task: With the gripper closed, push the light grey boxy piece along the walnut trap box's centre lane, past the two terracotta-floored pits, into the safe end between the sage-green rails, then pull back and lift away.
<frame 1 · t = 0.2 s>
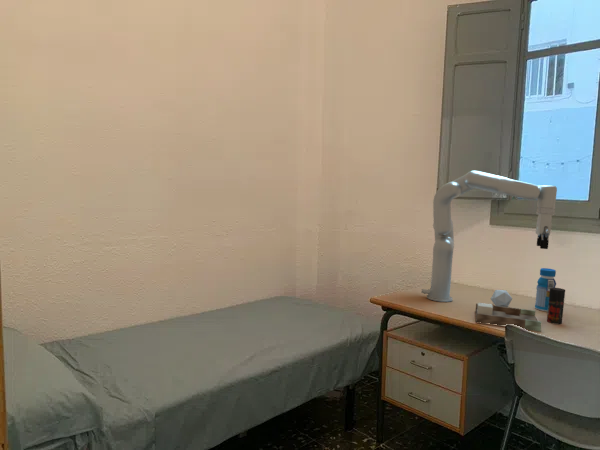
hand: (542, 247, 225), 31 cm above the table, fingers open, 9 cm apart
die: (500, 307, 234), on the table
beverage bottle: (543, 309, 232), on the table
deodorant: (554, 322, 211), on the table
trap box: (505, 321, 209), on the table
light grey boxy piece: (484, 313, 212), point 2 cm above the table, touching trap box
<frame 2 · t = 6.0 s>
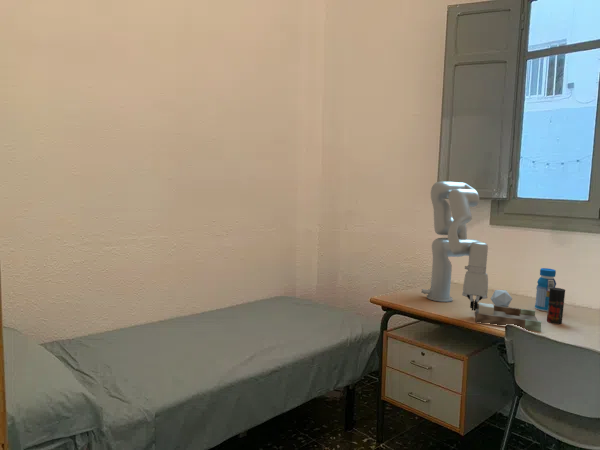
hand: (473, 309, 213), 3 cm above the table, fingers closed
light grey boxy piece: (485, 313, 212), point 2 cm above the table, touching gripper
everything else where it was.
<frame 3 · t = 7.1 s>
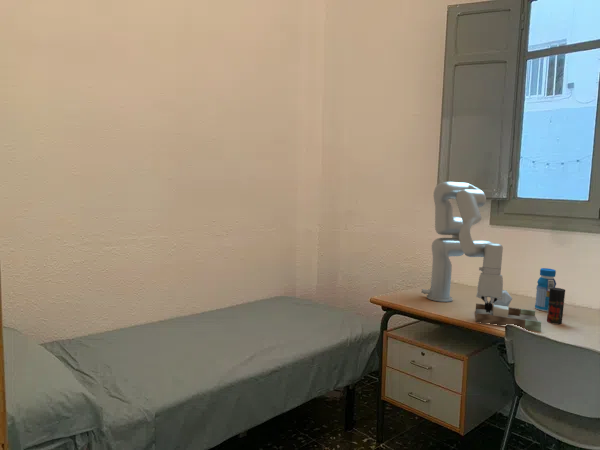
hand: (487, 311, 211), 3 cm above the table, fingers closed
light grey boxy piece: (500, 315, 210), point 2 cm above the table, touching gripper, trap box
everything else where it was.
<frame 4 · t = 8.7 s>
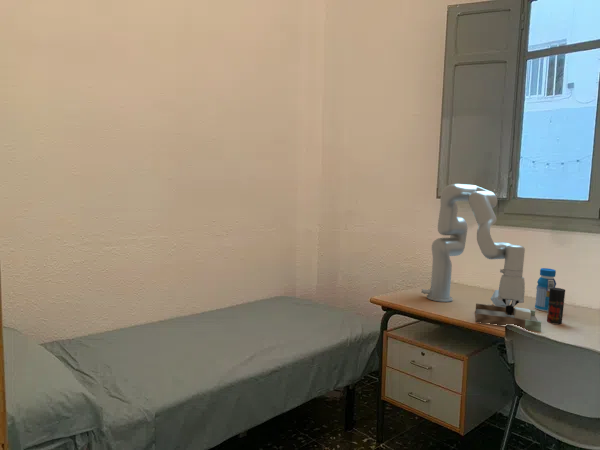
hand: (509, 314, 208), 3 cm above the table, fingers closed
light grey boxy piece: (521, 318, 207), point 2 cm above the table, touching trap box
everything else where it was.
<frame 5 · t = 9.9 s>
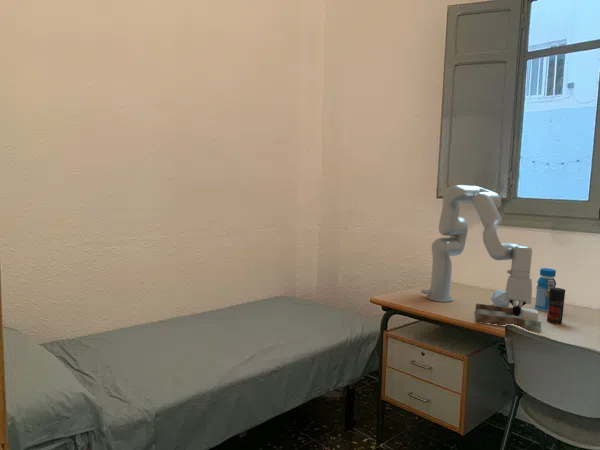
hand: (516, 315, 208), 3 cm above the table, fingers closed
light grey boxy piece: (528, 319, 206), point 2 cm above the table, touching gripper, trap box
everything else where it was.
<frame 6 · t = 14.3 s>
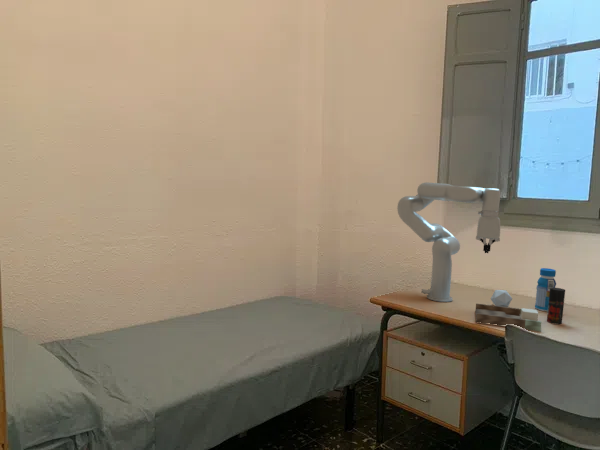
hand: (486, 252, 226), 27 cm above the table, fingers closed
light grey boxy piece: (528, 319, 206), point 2 cm above the table, touching trap box
everything else where it was.
at the end: light grey boxy piece 0.4 cm from the target spot, point 2.0 cm above the table; light grey boxy piece tilted 0° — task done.
